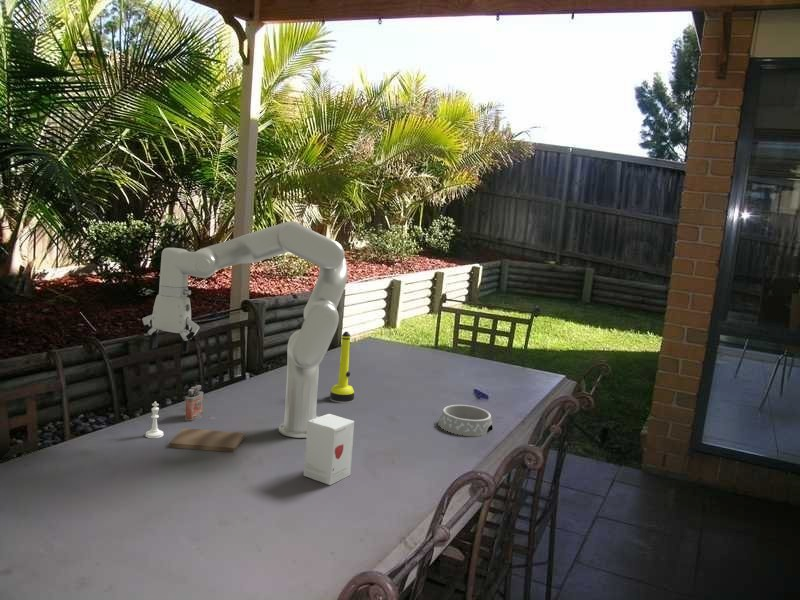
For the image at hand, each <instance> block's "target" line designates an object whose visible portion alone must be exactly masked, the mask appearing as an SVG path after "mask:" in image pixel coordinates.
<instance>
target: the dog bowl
mask: <svg viewBox="0 0 800 600" xmlns="http://www.w3.org/2000/svg"><path fill="white" fill-rule="evenodd" d="M492 421H493V420H492V415H491V413H490V412H489V411H488V410H485V409H483V408H481V407H478V406H474V405H470V404H469V405H467V404H451V405H447V406H445V407H443V409H442V412H441V414H440V417H439V420H438V422H437V423H438V424H437V425H438V427H439V426H440V427H441V428H440V427H439V428H440V429H441V430H443V429H444V430H443V431H445V430H446V431H445V432H447V431H448V433H449V432H451V434H453V433H454V434H453V435H457V434H458V436H462V435H463V437H481V436H480V435H484V436H487V434H488V430H489V428H491V429H492V430H493V422H492Z"/></svg>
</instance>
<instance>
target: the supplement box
mask: <svg viewBox="0 0 800 600" xmlns="http://www.w3.org/2000/svg"><path fill="white" fill-rule="evenodd" d="M354 429H355V420H352V419H349V418H346V417H345V418H344V417H341V416H338V415H334V414H331V413H327V414H324V415H321V416H318V417H317V418H315V419H312V420H309V421H308V422H307V437H306V439H305V454H304V466H303V476H304V477H307V478H309V479H312V480H314V481H317V482H320V483H323V484H325V485H328V486H333V484H336V483H338V482H339V481H341V480H343V479H345V478H347V477H349V476H350V475H351V470H352V457H353V446H354V445H353V443H354V431H355V430H354Z"/></svg>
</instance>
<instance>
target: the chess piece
mask: <svg viewBox="0 0 800 600" xmlns="http://www.w3.org/2000/svg"><path fill="white" fill-rule="evenodd" d="M151 406H153V407H152V408H151V412H152V415H151V416H150V418H151V419H152V425H151V428H150V430H148V431H146V432H145V437H146V438H147V439H158V438H162V437H163V436H164V431H163V430H161V429H159V428H158V418H159V417H160V416H159V414H158V413H159V409H160V408H159V407H158V406H159V403H157V401H154V402H153V403H151Z"/></svg>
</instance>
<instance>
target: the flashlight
mask: <svg viewBox="0 0 800 600" xmlns="http://www.w3.org/2000/svg"><path fill="white" fill-rule="evenodd" d="M351 338H352V337H351V334H350V332H348V331H344V332H343V333H342V335H341V347H340V348H341V349H340V357H339V369H338V379H337V380H338V382H337V384H333V386H332V388H331V389H330V395H329V400H330V401H331V402H335V403H341V404H349V403H352V402H354V401H355V390H354V388H353V386H352V385H349V377H350V376H351V372H350V371H349V366H350V346H351V345H350V343H351Z"/></svg>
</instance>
